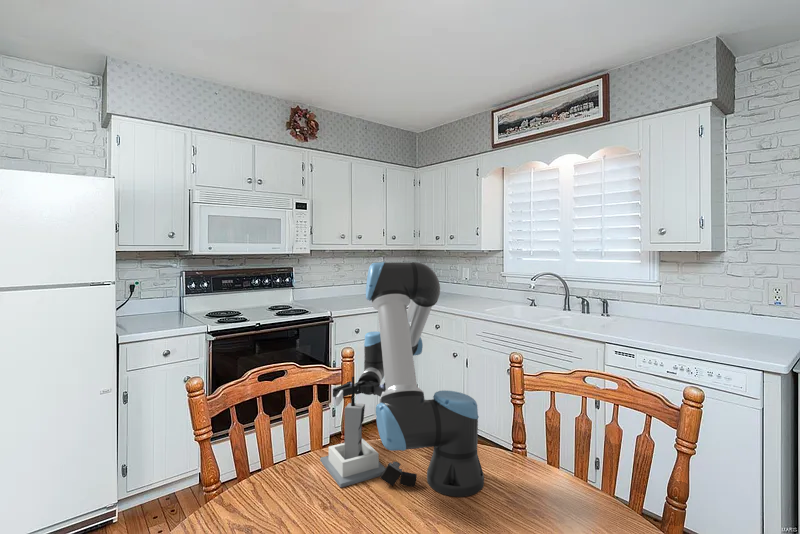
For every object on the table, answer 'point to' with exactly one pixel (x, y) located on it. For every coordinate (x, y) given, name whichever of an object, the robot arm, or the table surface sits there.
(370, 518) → the table surface
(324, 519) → the table surface
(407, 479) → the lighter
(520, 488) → the table surface
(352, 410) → the vintage mobile phone
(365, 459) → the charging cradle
